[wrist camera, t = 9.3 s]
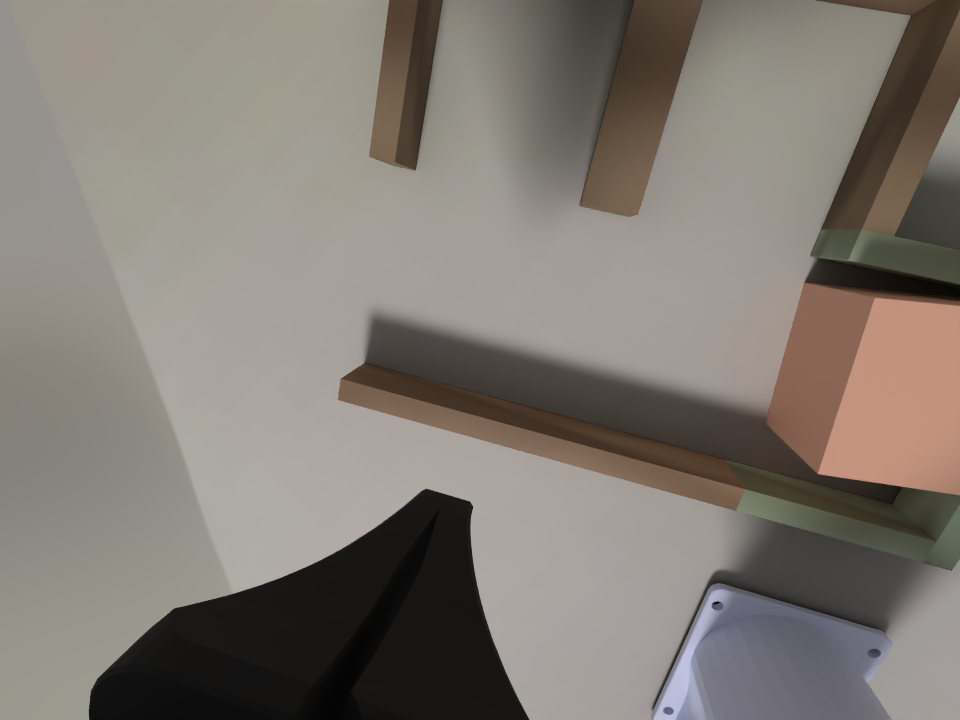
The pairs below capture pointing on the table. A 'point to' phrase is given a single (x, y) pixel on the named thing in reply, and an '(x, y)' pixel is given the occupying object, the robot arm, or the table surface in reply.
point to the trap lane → (620, 189)
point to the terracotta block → (873, 386)
